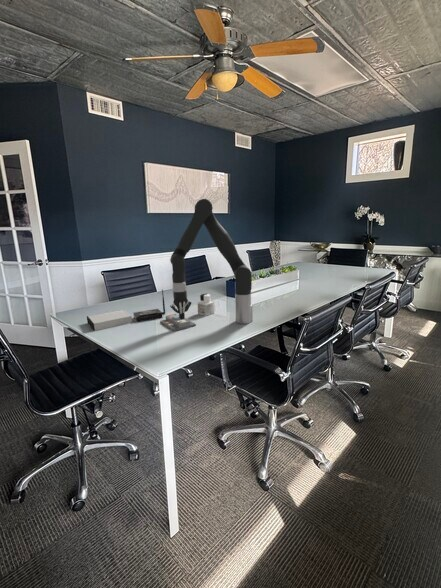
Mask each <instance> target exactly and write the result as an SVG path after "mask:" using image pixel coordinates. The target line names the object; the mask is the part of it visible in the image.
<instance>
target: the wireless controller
mask: <svg viewBox="0 0 441 588" xmlns="http://www.w3.org/2000/svg"><path fill="white" fill-rule="evenodd" d="M161 292H162V310H163V311H161V310H160V309H159V308H155V309H154V308H153V309H148V310H141V311H135V312H133V319H134V320H135V321H136V322H135V323H141V322H147V321H153V320H159V319H163V314H164V315H165V314H166V307H165V305H166V304H165V298H164V296H165V295H164V289H161Z"/></svg>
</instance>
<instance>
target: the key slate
mask: <svg viewBox="0 0 441 588" xmlns="http://www.w3.org/2000/svg"><path fill="white" fill-rule="evenodd" d="M172 319H173V320H175V321H176V320H180V318H179V314H177V315H175V316H172Z"/></svg>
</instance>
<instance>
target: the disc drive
mask: <svg viewBox="0 0 441 588" xmlns="http://www.w3.org/2000/svg"><path fill="white" fill-rule="evenodd" d="M132 317H133V316H132V315H131V314H129V313H128V312H127V311H126V310H124V309H121V310H116V311H110V312H105V313H99V314H94V315H88V316H86V320H87V324H88V326H89V325H90V326H89V328H91V330H93V332H95V331H100V330H105V329H110V328H113V327H118V326H124V325H127V324H132V323H133V319H132ZM123 324H124V325H123Z"/></svg>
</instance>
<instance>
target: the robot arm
mask: <svg viewBox="0 0 441 588" xmlns="http://www.w3.org/2000/svg"><path fill="white" fill-rule="evenodd" d="M213 209H214V208H213V204H212V202H211V201H210V200H209V199H207V198H201V199H199V200H198V201H197V202H196V203H195V205H194V213H193V215H192V218H191V220H190V222H189V224H188V226H187V227H186V229H185V230H184V232H183V234H182V236H181V237H180V239H179V242H178V245H177V246H176V248H175V249H174V251H173V253H172V254H171V256H170V259H169V261H170V264H171V266H172V267H171V269H172V273H171V274H172V276H171V277H172V293H173V294H172V295H173V296H172V297H173V303H172V304H171V305H169V307H170V308H171V309H172V310H173V311H174V312H175V314H178V315H179V318H180V319H181V320H183V319H184V318H186V317H185V313H186V312H188V311H189V309H190V308H191V305H192V302H191V301H189V300H188V294H187V283H186V274H185V273H186V272H185V270H186V262H185V257H186V255H187V254H188V253H189V252H190V251H191V249H192V247H193V245H194V243H195V242H196V241H195V240H196V239H197V236H198V234H199V232H200V230H201V228H202V226H203V224H204V226H205V228H206V230H207V233H208V234H209V236H210V238H211V239H212V242H213V243H214V245H215V247H216V248H217V250H218V251H219V254H221V255H222V256H223V258H224V259H225V260H226V262H227V263H228V265H229V267H230V269H231V271H232V273H233V276H234V279H235V281H234V283H235V284H234V285H235V288H234V302H235V305H234V306H235V323H237V324H240V325H241V324H243V325H245V324H249V323H251V322H253V321H254V319H253V316H254V315H253V311H254V310H253V305H252V287H253V286H252V283H253V282H252V280H253V279H252V278H253V277H252V271H251V270H250V268H249V267H248V266H247V265H246V264H245V262H243V260H242V258H241V257H240V256H239V253H238V251H237V247H236V246H235V244H234V242H233V241H234V240H233V239H232V238H231V236H230V234H229V233H228V231H227V230H226V229H225V228H224V227H223V226H222V225H221V223H220V222H219V221H218V220H217V218H216V216H215V214H214V212H213Z"/></svg>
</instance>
